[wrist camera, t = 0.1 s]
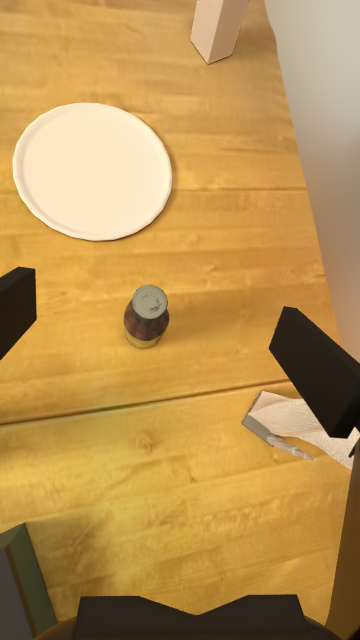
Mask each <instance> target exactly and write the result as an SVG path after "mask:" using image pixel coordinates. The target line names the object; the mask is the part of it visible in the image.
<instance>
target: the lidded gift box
mask: <svg viewBox="0 0 360 640" xmlns="http://www.w3.org/2000/svg"><path fill="white" fill-rule="evenodd" d="M57 624H58V623H57V620H56V617H55V614H54V611H53V608H52V605H51V602H50V599H49V596H48V593H47V590H46V587H45V584H44V580H43V577H42V574H41V571H40V568H39V565H38V562H37V559H36V556H35V553H34V550H33V547H32V544H31V541H30V538H29V535H28V531H27V528H26V525H25V523H22V524H20V525H18V526H16V527H14V528H12V529H10V530H8V531H6V532H4V533H2V534H0V640H33V639H34V638H36V637H37V636H39V635H40V634H42V633H43V632H44V631H46V630H47V629H49V628H51V627H53V626H55V625H57Z"/></svg>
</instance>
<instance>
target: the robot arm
mask: <svg viewBox="0 0 360 640" xmlns="http://www.w3.org/2000/svg"><path fill="white" fill-rule="evenodd" d="M36 320H37V314H36V279H35V269H32V268H25V267H17V268H15V269H14V270H12V271H10V272H9V273H7V274H5V275H4V276H2V277H0V360H1V359H2V358H3V357H4V356H5V355H6V354H7V352H8V351H9V350H10V349H11V348H12V347H13V346H14V345H15V343H16V342H17V341H18V340H19V339H20V338H21V337H22V335H23V334H24V333H25V332H26V331H27V330H28V329H29V328H30V326H31V325H32V324H33V323H34V322H35V321H36ZM269 350H270V351H271V353H272V354H273V356H274V357H275V359H276V360H277V362H278V363H279V364H280V366H281V367H282V369H283V370H284V372H285V373H286V375H287V376H288V378H289V379H290V380H291V382H292V383H293V385H294V386H295V388H296V389H297V391H298V392H299V394H300V395H301V396H302V398H303V399H304V401H305V402H306V404H307V405H308V407H309V408H310V410H311V411H312V413H313V414H314V415H315V417H316V418H317V420H318V421H319V423H320V424H321V426H322V427H323V429H324V430H325V431H326V433H327V434H328V436H329V437H330V438H340V439H348V437H349V436H350V434H351V432H352V430H353V429H354V427H355V428H356V429H357V430H358V431H359V433H360V363H358V362H357V361H356V360H355V359H354V358H352V357H351V356H350V355H349V354H348V353H347V352H346V351H345V350H343V349H342V348H341V347H340V346H339V345H338V344H337V343H336V342H334V341H333V340H332V339H331V338H330V337H329V336H328V335H326V334H325V333H324V332H323V331H322V330H321V329H320V328H318V327H317V326H316V325H315V324H314V323H313V322H312V321H311V320H309V319H308V318H307V317H306V316H305V315H304V314H303V313H301V312H300V311H299V310H298V309H297V308H292V307H285V306H284V307H283V310H282V313H281V316H280V318H279V321H278V324H277V327H276V329H275V332H274V335H273V338H272V340H271V343H270V346H269ZM353 455H354V460H353V466H352V472H351V479H350V485H349V491H348V497H347V504H346V510H345V516H344V523H343V529H342V535H341V541H340V548H339V554H338V560H337V566H336V573H335V579H334V585H333V592H332V598H331V604H330V610H329V615H328V618H327V621H326V624H325V626H323V625H322V624H320V623H319V622H317V621H315V620H313V619H311V618H309V617H307V616H304V614H303V611H302V608H301V605H300V602H299V599H298V597H297V594H296V595H247V596H245V597H242V598H240V599H237V600H235V601H232V602H230V603H228V604H225V605H223V606H220V607H218V608H215V609H213V610H210V611H208V612H206V613H203V614H200V615H193V614H189V613H186V612H183V611H180V610H178V609H175V608H172V607H169V606H166V605H163V604H160V603H157V602H154V601H151V600H148V599H146V598H143V597H140V596H84V597H81V598H80V603H79V609H78V614H77V616H75V617H73V618H70V619H67V620H65V621H62V622H60V623H59V624H57V625H55V626H53V627H51V628H49V629H47V630H46V631H44V632H43V633H42V634H40V635H39V636H37V637H36V638H34V639H33V640H360V437H359V439H358V440H357V442H356V444H355V445H354V447H353V449H352V450H351V452H350V454H349V455H348V457H349V458H351V457H352V456H353Z"/></svg>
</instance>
